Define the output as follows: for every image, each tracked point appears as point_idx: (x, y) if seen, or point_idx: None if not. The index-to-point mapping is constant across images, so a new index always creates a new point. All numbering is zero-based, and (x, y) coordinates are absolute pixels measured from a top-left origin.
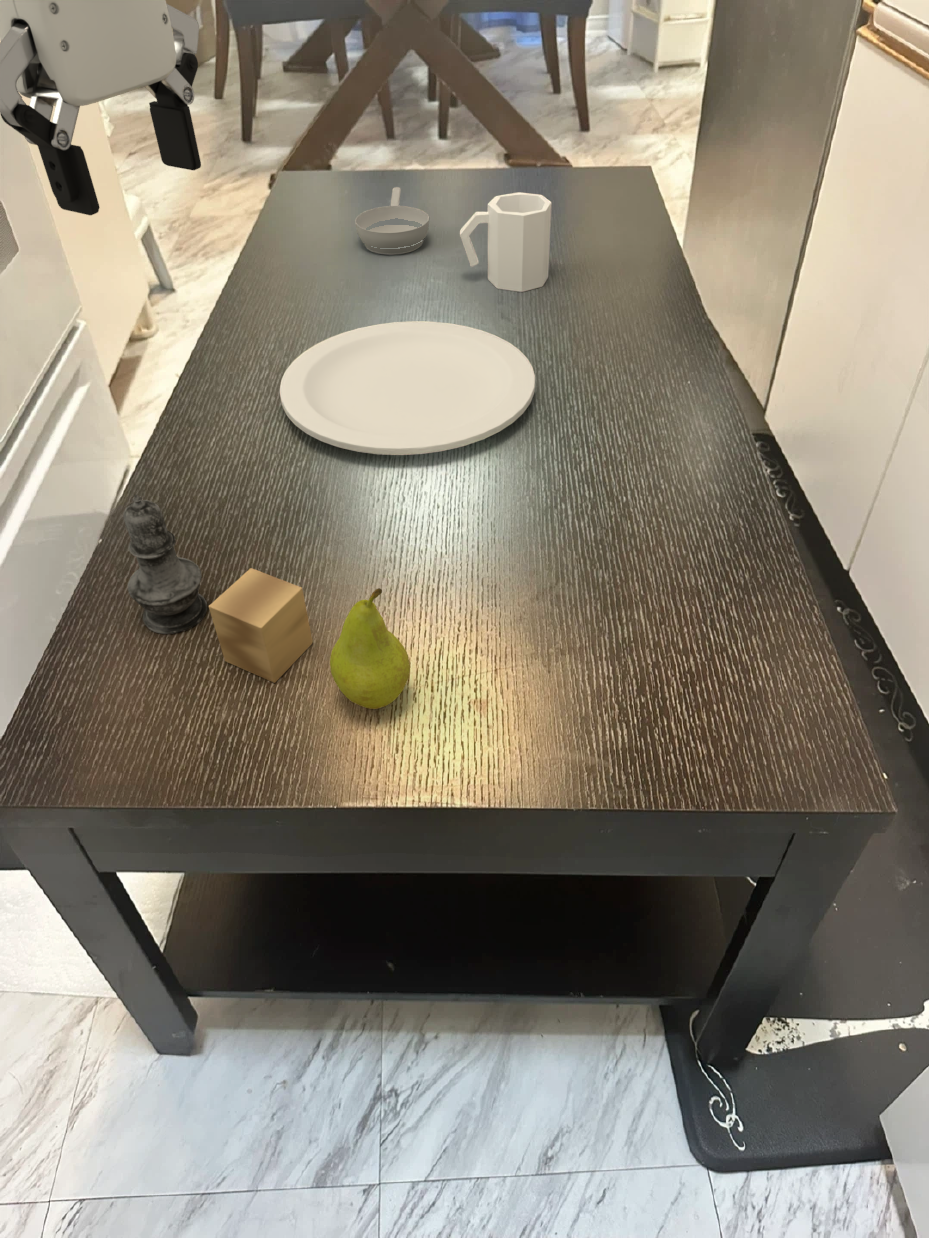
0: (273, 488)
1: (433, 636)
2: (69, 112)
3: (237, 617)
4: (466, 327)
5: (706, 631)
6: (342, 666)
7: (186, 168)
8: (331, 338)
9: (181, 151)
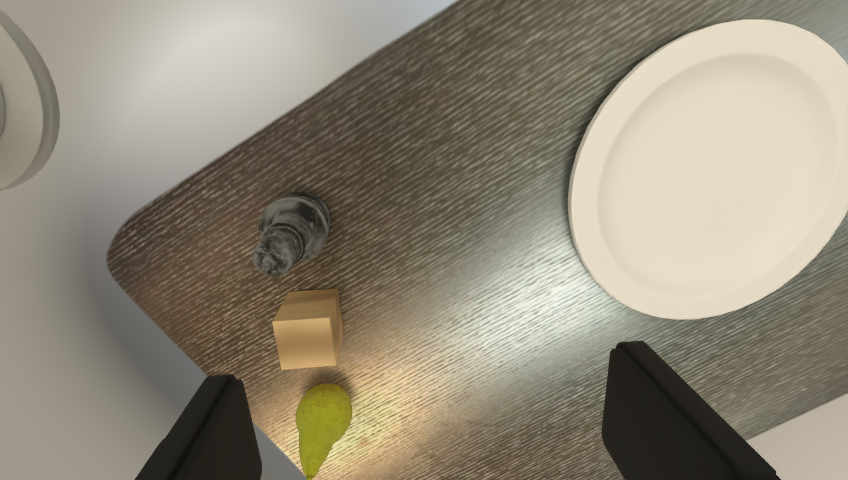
0: (490, 167)
1: (399, 390)
2: None
3: (278, 348)
4: None
5: None
6: (297, 423)
7: (603, 419)
8: (792, 29)
9: (626, 448)
